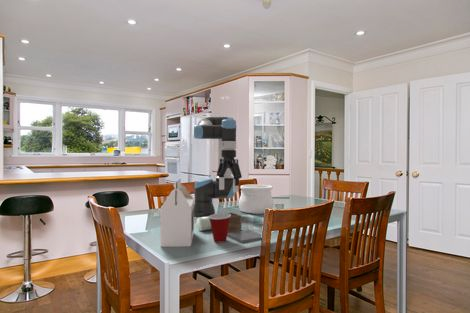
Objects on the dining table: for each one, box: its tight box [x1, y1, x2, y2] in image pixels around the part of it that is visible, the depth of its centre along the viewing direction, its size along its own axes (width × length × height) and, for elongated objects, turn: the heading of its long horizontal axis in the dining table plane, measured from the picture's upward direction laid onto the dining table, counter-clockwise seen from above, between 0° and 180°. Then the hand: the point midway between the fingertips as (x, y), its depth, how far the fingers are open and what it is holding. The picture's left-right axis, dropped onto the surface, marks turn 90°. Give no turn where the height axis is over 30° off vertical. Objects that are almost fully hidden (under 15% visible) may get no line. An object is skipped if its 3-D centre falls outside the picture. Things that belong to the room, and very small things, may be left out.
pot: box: [238, 183, 275, 215], centre depth 217 cm, size 26×24×18 cm
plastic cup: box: [208, 213, 231, 243], centre depth 146 cm, size 11×11×12 cm
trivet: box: [227, 229, 262, 244], centre depth 152 cm, size 14×14×1 cm
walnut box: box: [226, 212, 243, 233], centre depth 165 cm, size 9×9×8 cm
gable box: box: [160, 178, 195, 248], centre depth 147 cm, size 22×13×28 cm, turn 4°
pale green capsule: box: [195, 216, 212, 232], centre depth 165 cm, size 9×7×7 cm
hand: (228, 190), depth 160 cm, fingers open, 13 cm apart
